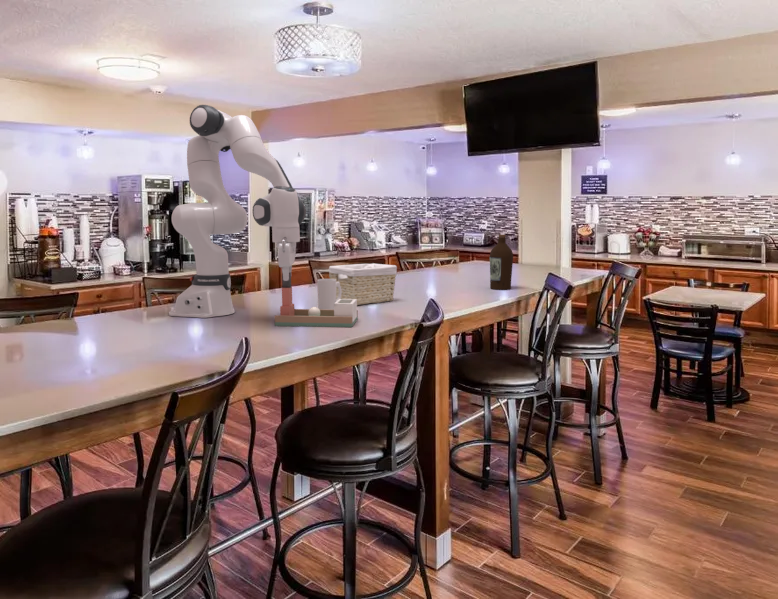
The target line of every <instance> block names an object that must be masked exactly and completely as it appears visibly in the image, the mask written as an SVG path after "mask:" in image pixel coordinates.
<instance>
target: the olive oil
mask: <svg viewBox="0 0 778 599" xmlns="http://www.w3.org/2000/svg"><path fill="white" fill-rule="evenodd" d="M506 236H507V235H506V234H498V238H497V240H498V241H497V244H496V245H495V246H494V247H493V248H492V249H491V250H490V253H489V280H490V281H489V282H490V283H489V286H490V289H491V290H496V291H497V290H498V291H508V290H511V289H512V276H513V275H512V274H513V265H514V253H513V250H512V249H511V247H510V246H509V245H508V244H507V243H506V241H507V240H506Z"/></svg>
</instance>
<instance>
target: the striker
mask: <svg viewBox="0 0 778 599" xmlns="http://www.w3.org/2000/svg"><path fill="white" fill-rule="evenodd" d="M281 277H282V278H281V279H282V282H281V283H282V287H281V304H282V305H281V306H280V308H279V309H280V310H279V312H280V314H279V315H281V316H294V309H295V303H293V287H292V274H291V275H289V280H288V281H284V280H283V274H282V275H281Z"/></svg>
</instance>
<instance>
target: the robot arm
mask: <svg viewBox="0 0 778 599" xmlns="http://www.w3.org/2000/svg"><path fill="white" fill-rule="evenodd" d="M191 111H192V112H190V115H189V126H190V128H191V129H192V130H193V132H195V133H196V134H197V135H196V136H194V137H191V138H190V139H189V141H188V143H187V148H186V164H187V165H186V166H187V173H188V180H189V181H188V182H189V186H190V187H189V188H190V190H192V191H193V192H194V194H196V195H197V196H200V197H201V198H203V199H205V200H206V201H207V202H189V203H185V204H179V205H177V206H175V208H174V209H173V210H172V214H171V224H172V226H173V228H174V230H175V231H176V232H177V233H178V234H180V235H181V236H183V237H184V238H185V239H186V240H187V241H188V243H189V244H190V246H191V249H192V250H193V255H194V259H195V260H194V261H195V270H196V271H195V274H194V275H192V276H191V277H189V281H190V282H191V285H190V286H189V287H188V288H187V289H185V290H184V291H182V292H181V293H180V294H179V295H178V296H177V298H176V301H175V304H174V305H175V306H174V309H171V310H170V311H169V312H168V316H170V317H171V316H172V317H182V318H183V317H184V318H187V317H188V318H202V319H205V318H207V319H208V318H212V317H222V316H228V315H232V314H235V312H236V311H235V308H234V304H233V300H232V295H231V285H232V283H231V282H232V281H231V274H230V272H229V271H230V270H229V269H230V268H229V253H228V252H227V250H226V249H225V248H224V247H222V246H221V245H218V244H216V243H214V242H212V239H211V235H233V234H238V233H240V232H244V230H245V228H246V227H247V224H248V214H247V210H246V209H245V208H244V207H243V206H242V205H241V204H239V203H238V202H236V201H235V200H234V198H232V196H230V195H229V193H228V191H227V190H226V187H225V185H224V181H223V178H222V177H223V176H222V172H221V163H220V158H219V153H220V152H223V153H225V152H228V151H231V154H232V157H233V159H234V161H235V162H236V164H237V165H238V167H240V168H241V169H243V170H245V172H248V173H251V174H255V175H258V176H260V177H262V178H264V179H266V180H267V181H268V182H269V183H271V185H272V189H271V191H270V192H269V193H267V195H265V196H263V197H259V198H258V199H257V200H255V202H254V204H253V206H252V216H253V219H254V221H255V222H256V224H258V225H259V226H261V227H271V230H272V231H271V233H272V234H271V236H272V237H271V238H272V243H275V244H276V248H278V250H277V251H278V252H277V258H278V259H277V260H278V262H277V264H278V267H279V268H281V273H282V275H283V280H284V281H288V280H289V275H291V276H292V269H293V265H294V263H295V261H296V248H297V243H300V242H301V237H300V234H301V233H300V229H301V228H300V225H302V223H304V220H305V218H306V214H307V211H306V209H307V208H306V206H305V204H304V202H303V201H302V200H301V198H300V197H299V196H298V193H297V189H295V188H294V187H293V186H292V183H291V181H290V180H289V177H288V176H287V174H286V173H285V170H284V168H283V167H282V165H281V163H280V162H279V160H277V159H276V158H274V156H273V155H272V154H271V153H270V152H269V151H268V149H267V148H266V146H265V144H264V142H263V140H262V137H261V134H260V132H259V129H258V128H257V126H256V124H255V123H254V120H252V118H250V117H249V116H248V115H244V114H238V115H234V116H231V115H230V114H228V113H227V112H225V111H221V110H219V109H218V108H216V107H214V106H212V105H208V104H199V105H197V106H196V107H194V108H193V110H191Z"/></svg>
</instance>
